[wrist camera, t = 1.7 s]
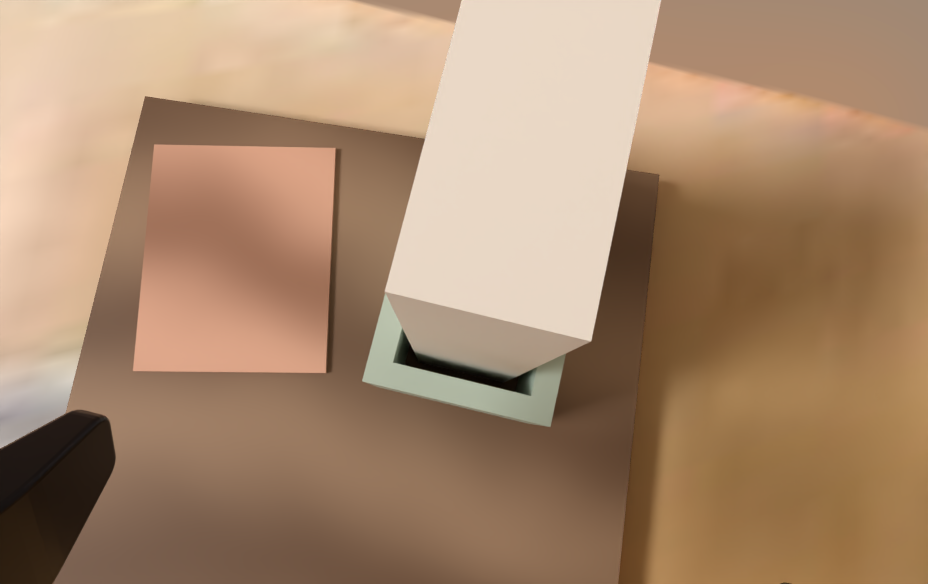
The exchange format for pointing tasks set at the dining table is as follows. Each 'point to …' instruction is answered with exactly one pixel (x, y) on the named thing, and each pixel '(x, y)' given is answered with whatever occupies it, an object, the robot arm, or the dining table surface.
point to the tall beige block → (520, 182)
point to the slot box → (523, 405)
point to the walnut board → (325, 381)
